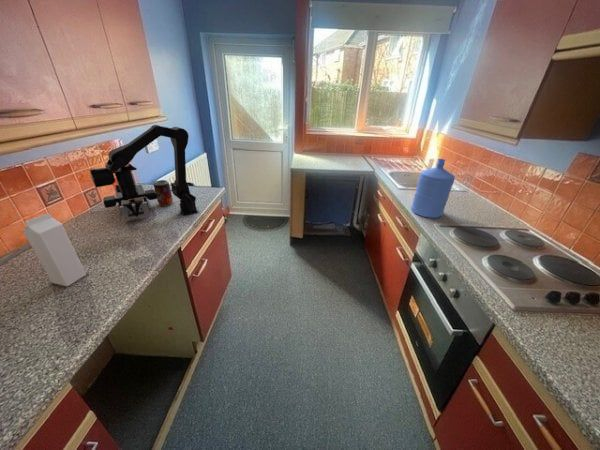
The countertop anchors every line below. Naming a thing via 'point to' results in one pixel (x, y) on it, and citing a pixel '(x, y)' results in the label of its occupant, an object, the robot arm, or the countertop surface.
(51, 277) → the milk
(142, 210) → the drawer
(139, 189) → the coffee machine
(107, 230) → the countertop surface
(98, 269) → the countertop surface
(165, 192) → the red food can
